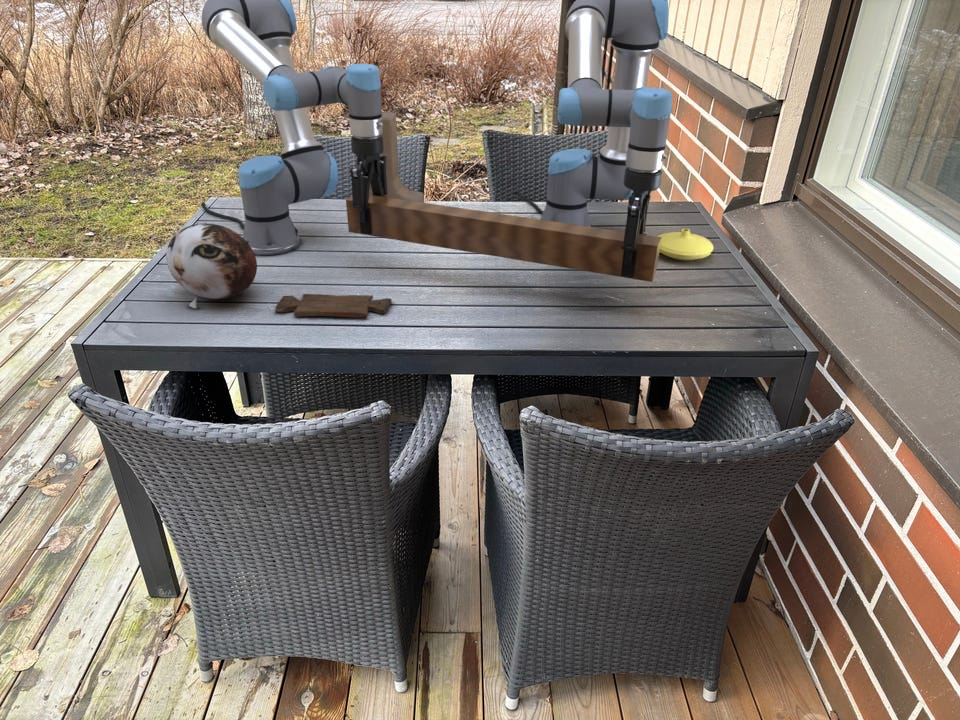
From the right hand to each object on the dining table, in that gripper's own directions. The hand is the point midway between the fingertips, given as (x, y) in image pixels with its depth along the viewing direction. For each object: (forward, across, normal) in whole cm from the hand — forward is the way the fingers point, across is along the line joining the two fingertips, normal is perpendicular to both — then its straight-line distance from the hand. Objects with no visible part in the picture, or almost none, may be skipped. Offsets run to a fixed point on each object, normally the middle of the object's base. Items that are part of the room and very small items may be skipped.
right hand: (629, 270), depth 160 cm
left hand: (0, 0, +65) cm, 65 cm away
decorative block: (+11, +36, +77) cm, 86 cm away
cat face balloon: (+10, -30, +91) cm, 96 cm away
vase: (+11, +40, -8) cm, 42 cm away
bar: (+1, 0, +32) cm, 32 cm away
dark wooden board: (+10, -25, +62) cm, 68 cm away
